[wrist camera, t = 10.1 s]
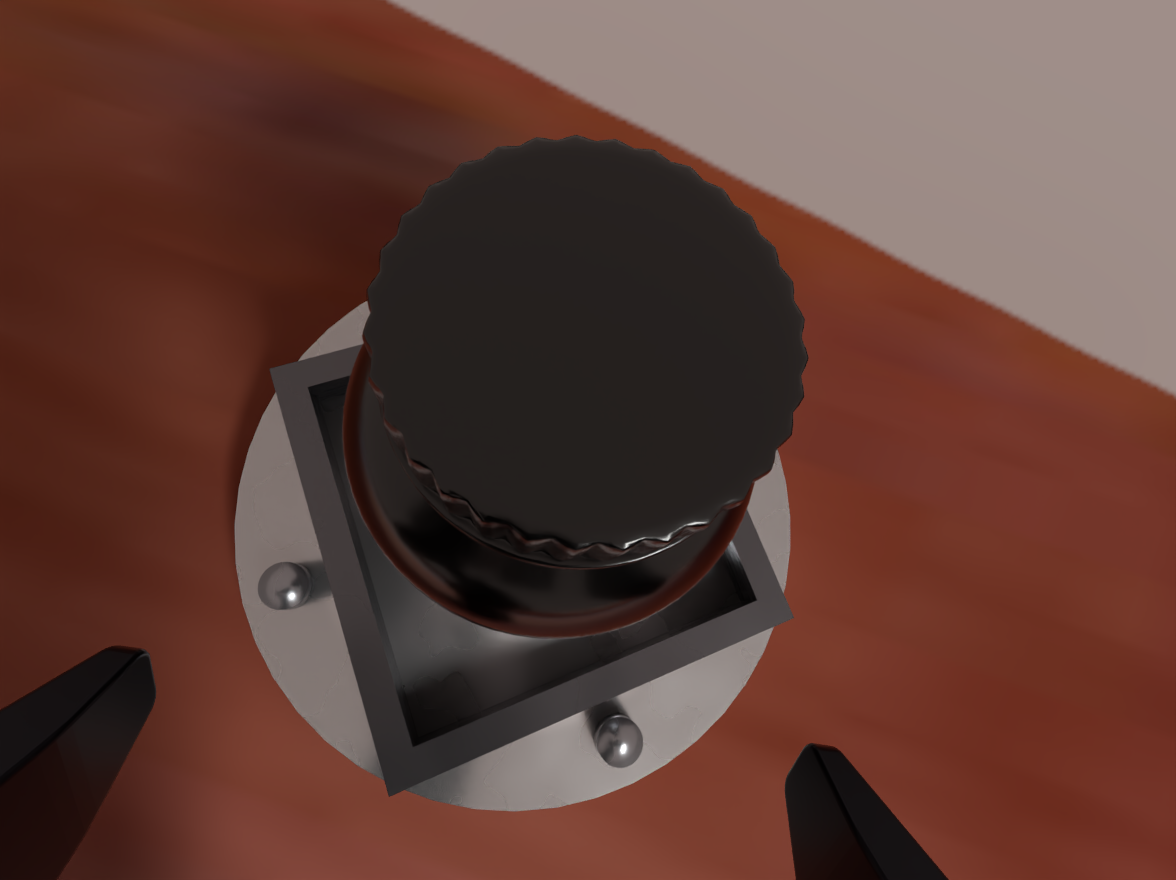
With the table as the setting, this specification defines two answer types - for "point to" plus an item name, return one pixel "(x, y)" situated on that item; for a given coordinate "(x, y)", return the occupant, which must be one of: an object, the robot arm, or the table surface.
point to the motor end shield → (474, 632)
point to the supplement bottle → (569, 386)
